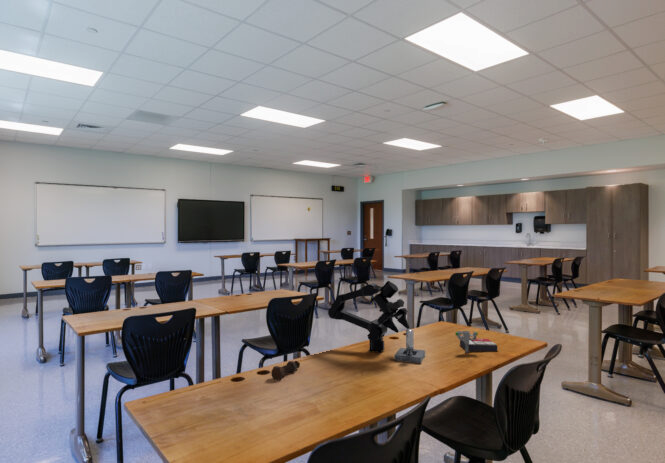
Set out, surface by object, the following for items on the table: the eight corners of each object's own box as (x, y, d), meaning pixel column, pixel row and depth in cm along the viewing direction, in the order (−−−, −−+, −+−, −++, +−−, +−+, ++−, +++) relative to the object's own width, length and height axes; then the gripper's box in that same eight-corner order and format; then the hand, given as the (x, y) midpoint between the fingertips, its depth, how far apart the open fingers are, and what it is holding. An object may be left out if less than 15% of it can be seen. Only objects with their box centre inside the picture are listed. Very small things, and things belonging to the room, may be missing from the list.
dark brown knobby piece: (298, 373, 172) (277, 383, 159) (290, 365, 174) (269, 375, 161) (304, 362, 170) (283, 372, 157) (296, 355, 173) (274, 364, 160)
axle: (405, 358, 183) (405, 330, 183) (407, 356, 186) (406, 329, 186) (413, 359, 182) (412, 331, 182) (414, 357, 185) (414, 329, 185)
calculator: (497, 344, 193) (467, 343, 193) (497, 353, 193) (467, 352, 193) (488, 338, 204) (459, 337, 204) (488, 346, 204) (459, 345, 204)
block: (394, 360, 181) (394, 355, 181) (400, 352, 192) (400, 347, 192) (420, 363, 176) (420, 357, 176) (425, 355, 187) (425, 350, 187)
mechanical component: (478, 353, 190) (478, 332, 190) (457, 353, 190) (456, 332, 190) (476, 351, 193) (475, 330, 193) (455, 351, 193) (454, 331, 193)
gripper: (382, 296, 183) (402, 323, 176) (404, 291, 197) (424, 316, 189) (368, 311, 188) (388, 338, 181) (391, 305, 202) (410, 330, 195)
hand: (403, 330), depth 186 cm, fingers open, 9 cm apart
